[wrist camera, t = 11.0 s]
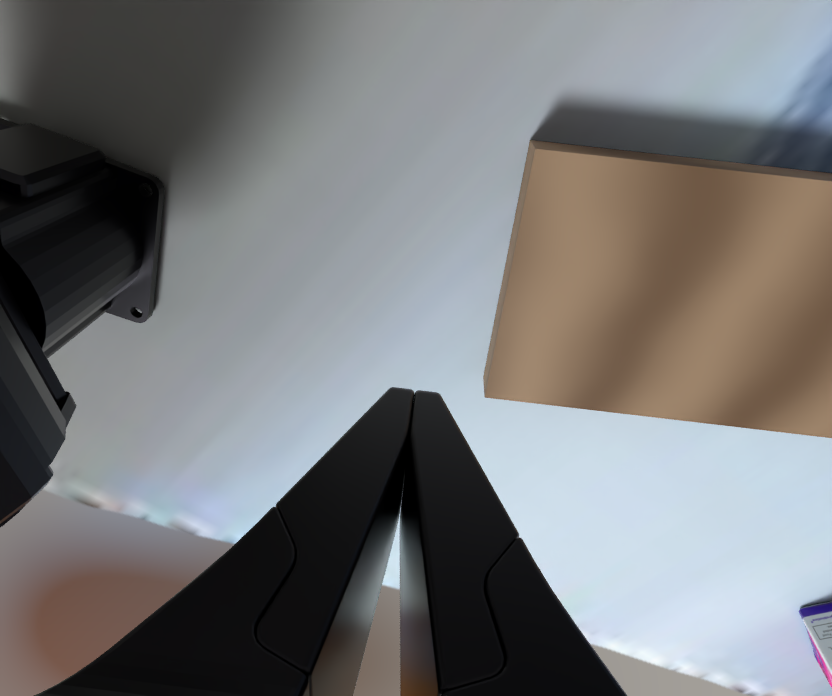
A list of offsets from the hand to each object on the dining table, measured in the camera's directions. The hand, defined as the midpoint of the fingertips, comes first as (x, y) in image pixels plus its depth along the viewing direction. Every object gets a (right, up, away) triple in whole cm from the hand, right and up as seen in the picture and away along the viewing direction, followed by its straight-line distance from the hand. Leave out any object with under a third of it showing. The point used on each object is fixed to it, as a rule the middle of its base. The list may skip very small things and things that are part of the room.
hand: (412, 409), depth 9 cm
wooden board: (+14, +3, +11) cm, 19 cm away
